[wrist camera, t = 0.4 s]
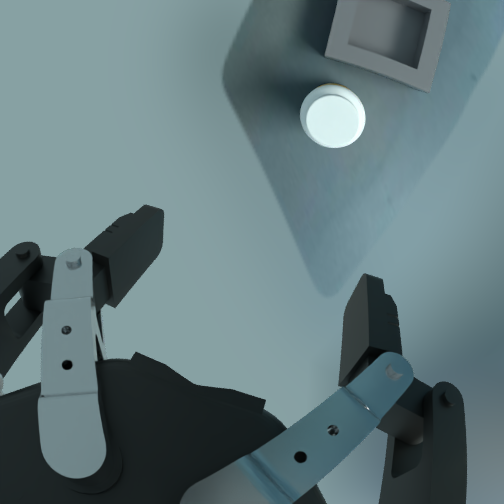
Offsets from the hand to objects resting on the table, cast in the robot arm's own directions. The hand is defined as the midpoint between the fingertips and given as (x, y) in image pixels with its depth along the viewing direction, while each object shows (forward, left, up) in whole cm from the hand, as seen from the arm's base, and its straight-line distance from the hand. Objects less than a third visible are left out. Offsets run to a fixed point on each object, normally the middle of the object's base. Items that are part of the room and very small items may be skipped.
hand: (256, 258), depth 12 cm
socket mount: (-14, +5, -23) cm, 27 cm away
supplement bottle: (-4, +2, -24) cm, 24 cm away
